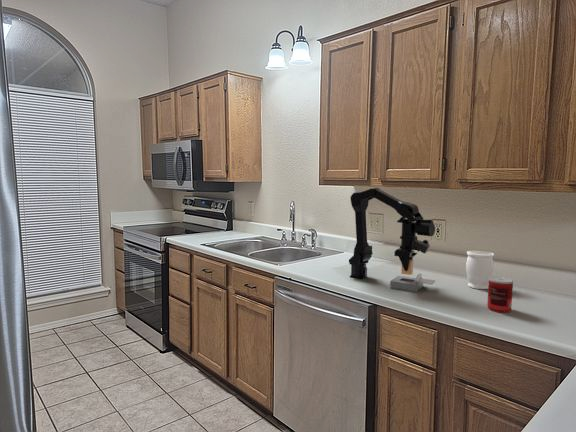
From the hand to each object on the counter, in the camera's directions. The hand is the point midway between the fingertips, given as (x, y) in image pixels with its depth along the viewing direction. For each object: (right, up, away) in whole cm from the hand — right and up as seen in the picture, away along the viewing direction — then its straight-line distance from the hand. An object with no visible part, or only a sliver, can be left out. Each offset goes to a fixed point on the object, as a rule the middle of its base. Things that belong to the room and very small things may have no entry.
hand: (407, 270), depth 172 cm
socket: (0, -7, +1) cm, 7 cm away
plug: (0, -2, 0) cm, 2 cm away
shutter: (+7, -5, -4) cm, 9 cm away
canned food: (+25, -11, -28) cm, 38 cm away
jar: (+31, -8, +1) cm, 32 cm away
